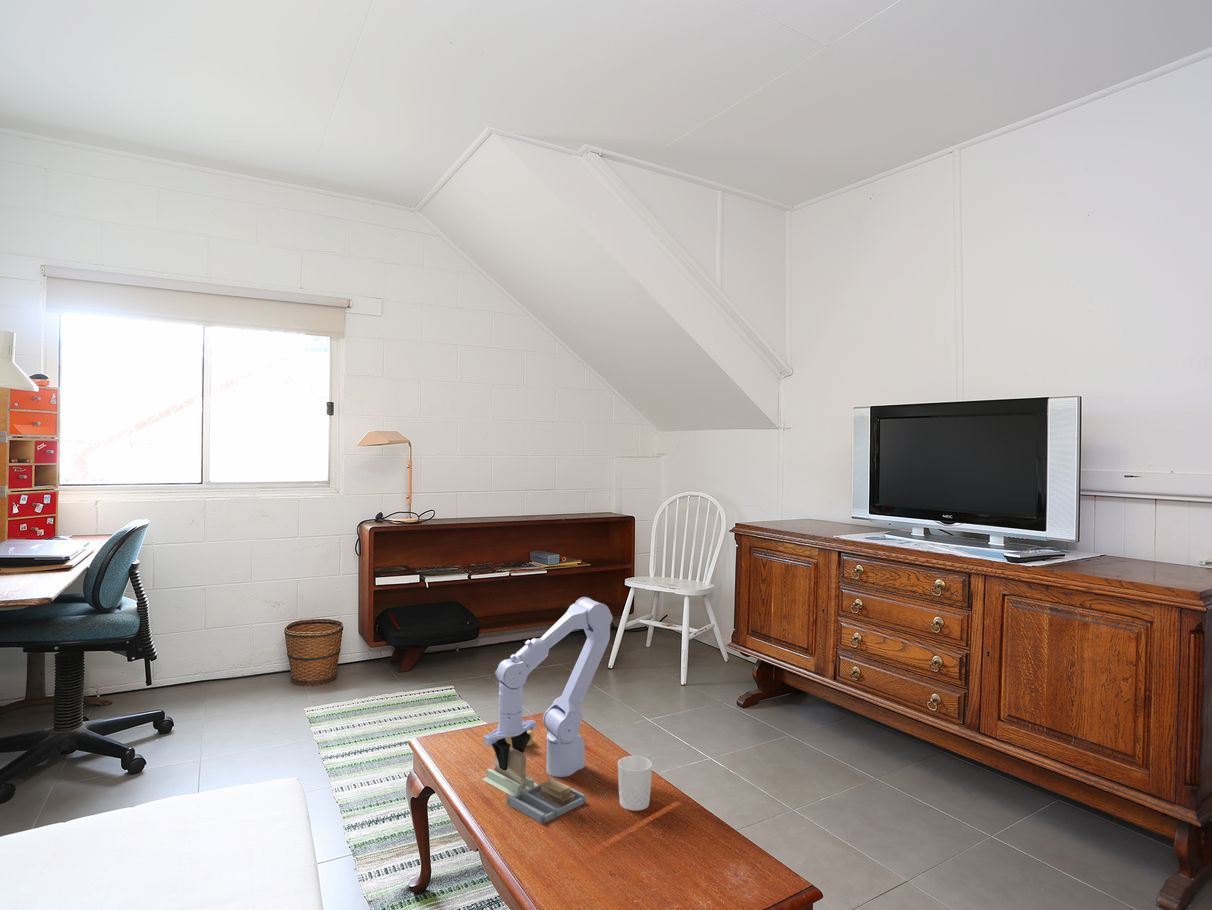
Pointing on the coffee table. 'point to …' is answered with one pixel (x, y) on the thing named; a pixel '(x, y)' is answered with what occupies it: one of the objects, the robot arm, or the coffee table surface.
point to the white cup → (634, 782)
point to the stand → (507, 783)
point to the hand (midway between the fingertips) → (510, 766)
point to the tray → (542, 804)
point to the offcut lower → (559, 801)
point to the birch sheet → (514, 767)
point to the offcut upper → (555, 788)
